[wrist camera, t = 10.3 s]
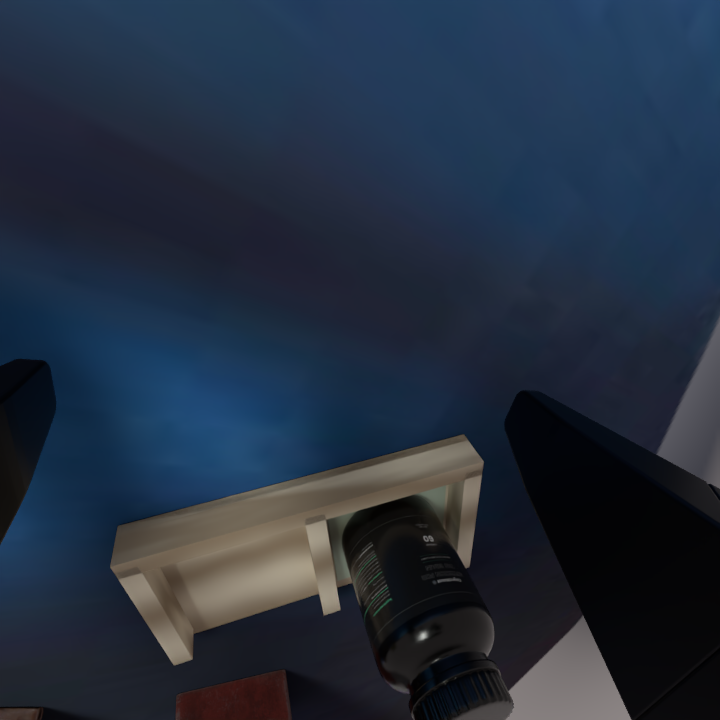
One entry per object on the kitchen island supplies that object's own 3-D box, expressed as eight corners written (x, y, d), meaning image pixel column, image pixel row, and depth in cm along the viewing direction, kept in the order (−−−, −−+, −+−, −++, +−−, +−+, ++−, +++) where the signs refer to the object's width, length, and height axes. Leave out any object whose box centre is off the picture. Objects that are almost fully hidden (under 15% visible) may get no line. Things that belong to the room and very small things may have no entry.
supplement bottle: (449, 498, 32) (559, 685, 22) (397, 560, 34) (476, 755, 24) (373, 480, 28) (462, 692, 18) (321, 551, 30) (376, 772, 21)
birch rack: (453, 542, 36) (468, 571, 34) (178, 630, 32) (176, 669, 30) (463, 434, 30) (483, 461, 27) (117, 525, 25) (110, 566, 23)
